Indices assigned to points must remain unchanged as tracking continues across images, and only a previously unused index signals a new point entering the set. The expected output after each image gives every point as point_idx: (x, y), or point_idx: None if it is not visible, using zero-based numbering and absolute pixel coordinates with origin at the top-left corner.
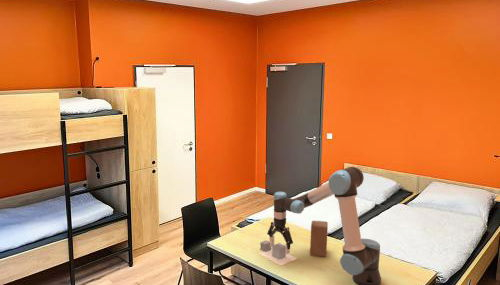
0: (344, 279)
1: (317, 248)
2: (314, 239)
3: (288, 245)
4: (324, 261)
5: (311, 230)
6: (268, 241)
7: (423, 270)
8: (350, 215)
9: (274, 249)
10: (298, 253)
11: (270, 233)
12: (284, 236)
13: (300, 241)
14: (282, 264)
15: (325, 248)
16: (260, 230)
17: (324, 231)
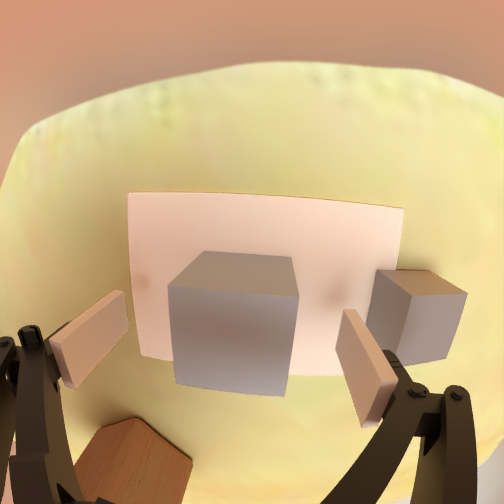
0: None
1: (98, 449)
2: (85, 485)
3: (44, 341)
4: (73, 397)
5: None
6: (419, 359)
7: None
8: None
9: (255, 279)
10: (194, 407)
11: (417, 423)
12: (17, 417)
13: (290, 479)
14: (132, 214)
15: (81, 455)
16: (498, 406)
17: None
